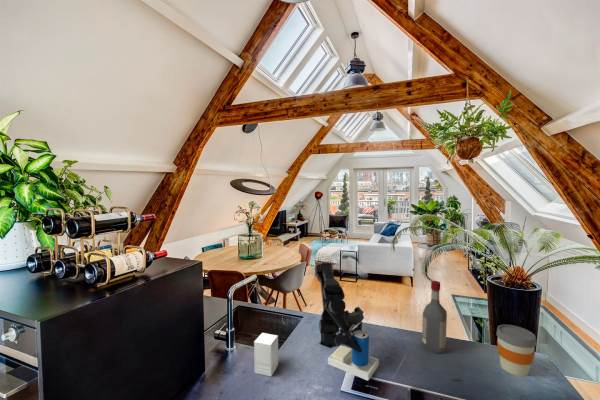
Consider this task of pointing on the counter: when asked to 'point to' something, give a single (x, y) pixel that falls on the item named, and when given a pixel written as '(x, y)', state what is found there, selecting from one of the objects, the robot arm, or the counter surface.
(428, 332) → the liquor
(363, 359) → the beverage can
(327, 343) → the robot arm
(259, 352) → the supplement box
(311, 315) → the counter surface
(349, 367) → the white rectangular tray
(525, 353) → the reusable coffee cup
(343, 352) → the beige rectangular block
